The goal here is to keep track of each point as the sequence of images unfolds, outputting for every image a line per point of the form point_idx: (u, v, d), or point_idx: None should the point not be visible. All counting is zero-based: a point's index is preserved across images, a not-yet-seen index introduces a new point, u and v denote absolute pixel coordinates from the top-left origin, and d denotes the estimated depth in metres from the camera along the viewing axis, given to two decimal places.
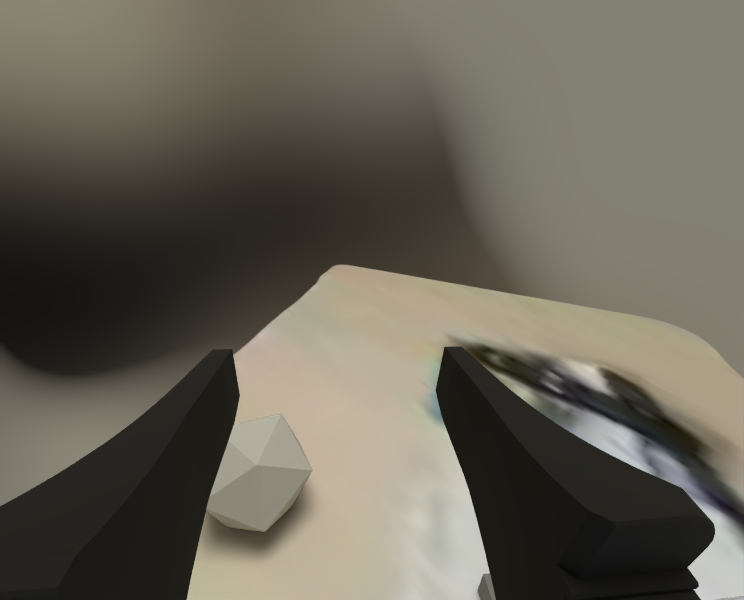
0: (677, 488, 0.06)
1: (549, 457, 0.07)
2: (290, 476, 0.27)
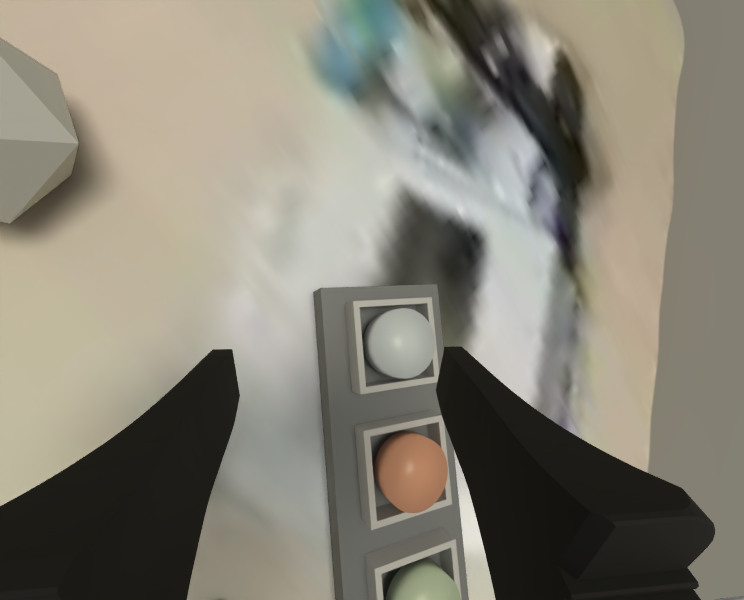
0: (677, 488, 0.06)
1: (549, 457, 0.07)
2: (28, 152, 0.15)
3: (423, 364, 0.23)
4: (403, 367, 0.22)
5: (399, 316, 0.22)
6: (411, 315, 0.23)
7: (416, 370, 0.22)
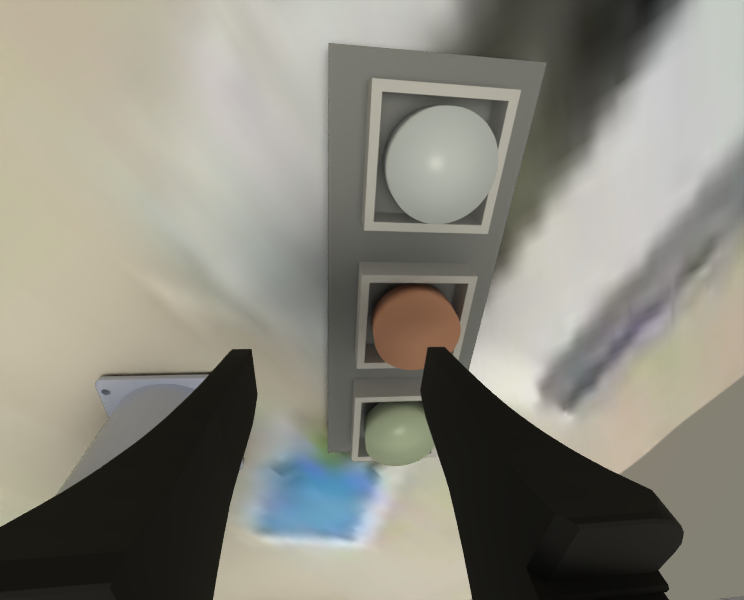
0: (647, 490, 0.06)
1: (522, 459, 0.07)
2: None
3: (464, 208, 0.15)
4: (430, 207, 0.15)
5: (444, 121, 0.13)
6: (467, 122, 0.13)
7: (450, 215, 0.15)
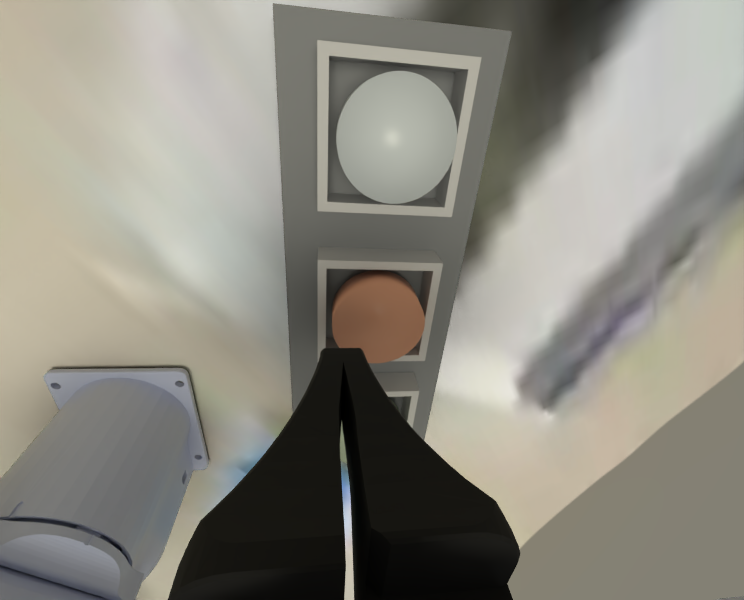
0: (489, 500, 0.06)
1: (379, 466, 0.07)
2: None
3: (422, 186, 0.14)
4: (385, 184, 0.14)
5: (395, 88, 0.12)
6: (420, 90, 0.12)
7: (407, 193, 0.14)
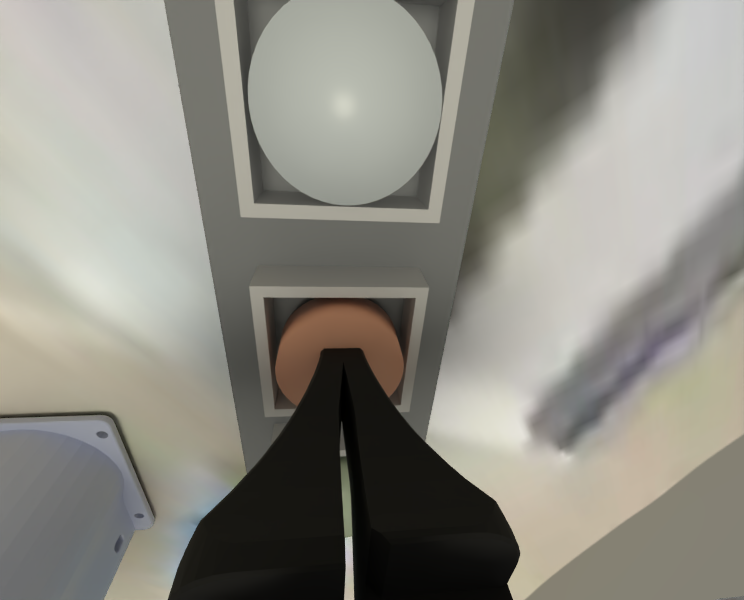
0: (489, 501, 0.06)
1: (379, 466, 0.07)
2: None
3: (391, 178, 0.09)
4: (334, 176, 0.09)
5: (338, 14, 0.07)
6: (380, 18, 0.07)
7: (369, 190, 0.09)
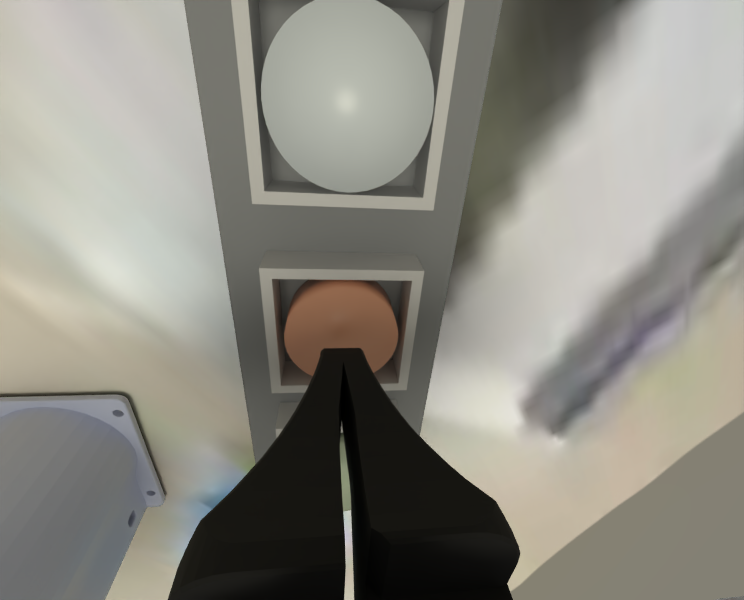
0: (490, 501, 0.06)
1: (379, 466, 0.07)
2: None
3: (389, 167, 0.10)
4: (337, 166, 0.10)
5: (341, 21, 0.08)
6: (378, 24, 0.08)
7: (369, 178, 0.10)
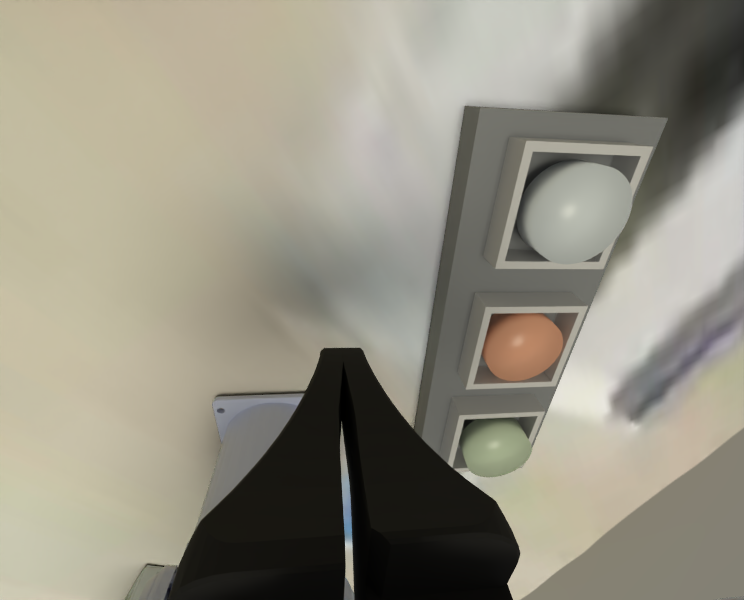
0: (489, 501, 0.06)
1: (379, 466, 0.07)
2: None
3: (594, 250, 0.16)
4: (565, 250, 0.16)
5: (590, 178, 0.15)
6: (610, 178, 0.15)
7: (581, 256, 0.16)
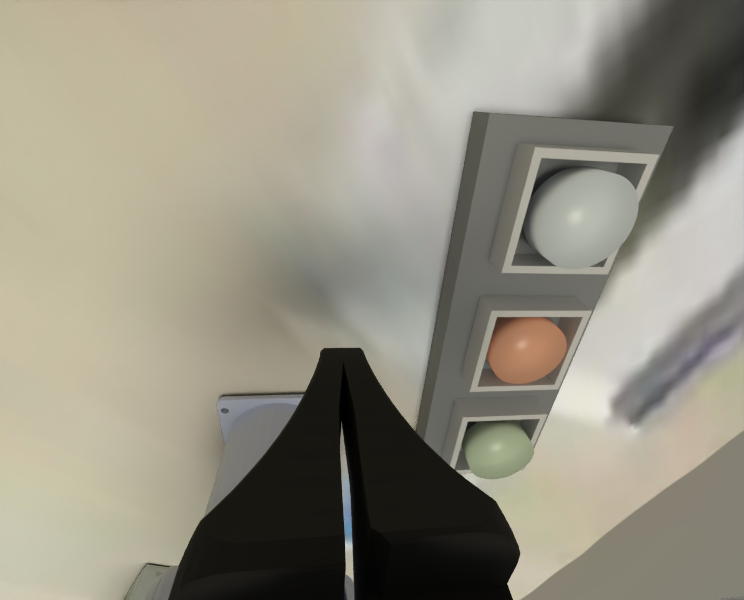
0: (489, 501, 0.06)
1: (379, 466, 0.07)
2: None
3: (600, 255, 0.17)
4: (571, 255, 0.16)
5: (598, 184, 0.15)
6: (616, 185, 0.15)
7: (586, 261, 0.17)
